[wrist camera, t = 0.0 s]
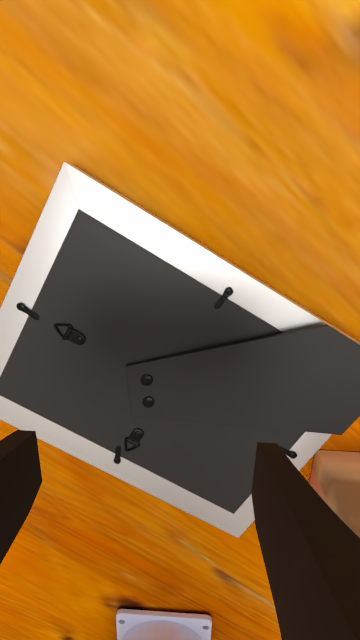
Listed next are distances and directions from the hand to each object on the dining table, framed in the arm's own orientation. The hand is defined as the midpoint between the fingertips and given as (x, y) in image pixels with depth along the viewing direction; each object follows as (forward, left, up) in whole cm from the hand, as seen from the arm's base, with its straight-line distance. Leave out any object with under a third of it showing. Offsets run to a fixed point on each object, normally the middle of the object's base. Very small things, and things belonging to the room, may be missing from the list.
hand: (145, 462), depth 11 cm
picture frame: (-2, 0, -11) cm, 11 cm away
